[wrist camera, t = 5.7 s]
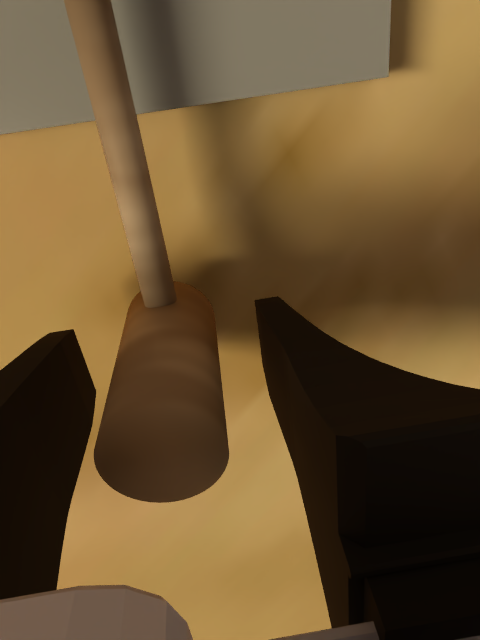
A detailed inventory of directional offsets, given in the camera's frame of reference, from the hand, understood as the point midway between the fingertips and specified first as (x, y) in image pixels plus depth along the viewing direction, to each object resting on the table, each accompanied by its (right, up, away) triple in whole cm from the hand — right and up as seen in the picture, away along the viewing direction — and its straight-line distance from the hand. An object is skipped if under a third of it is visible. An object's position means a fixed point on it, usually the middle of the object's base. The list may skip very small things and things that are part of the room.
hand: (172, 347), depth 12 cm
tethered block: (-1, +6, -2) cm, 6 cm away
